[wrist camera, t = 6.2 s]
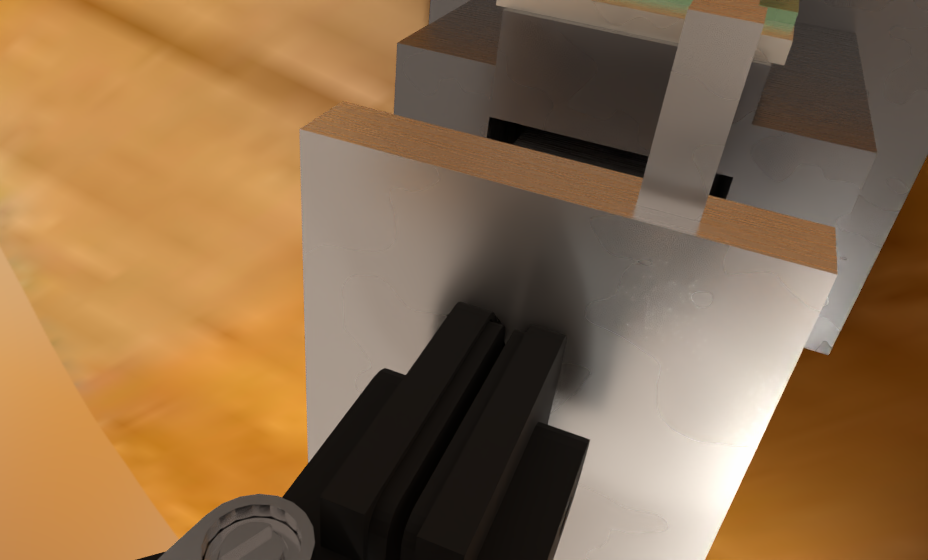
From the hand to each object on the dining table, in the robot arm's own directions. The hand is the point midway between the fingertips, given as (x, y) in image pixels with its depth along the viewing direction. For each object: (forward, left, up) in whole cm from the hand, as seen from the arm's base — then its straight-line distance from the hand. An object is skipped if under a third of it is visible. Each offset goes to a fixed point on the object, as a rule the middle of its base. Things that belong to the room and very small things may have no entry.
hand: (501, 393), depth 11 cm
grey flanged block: (0, -1, -9) cm, 9 cm away
